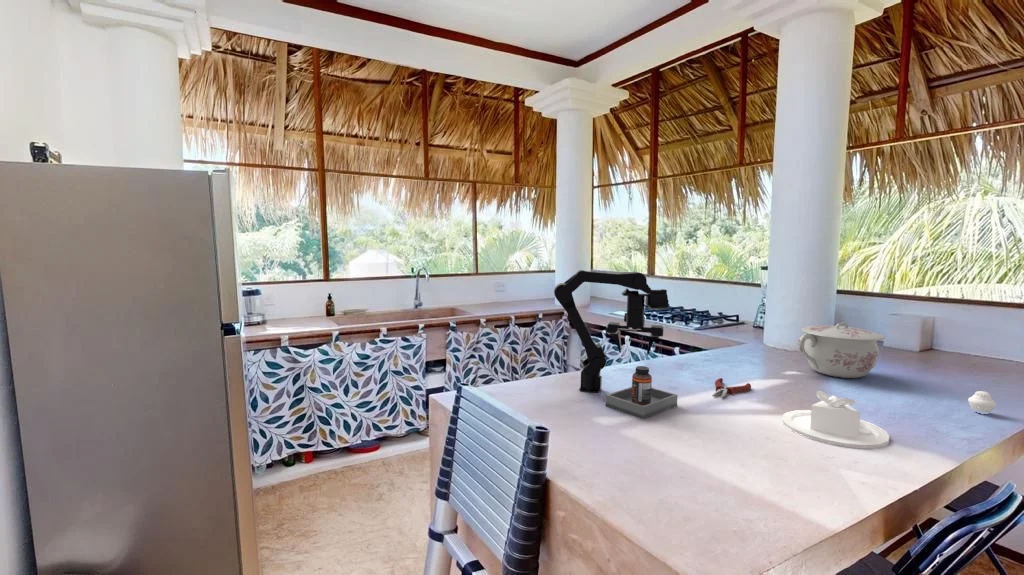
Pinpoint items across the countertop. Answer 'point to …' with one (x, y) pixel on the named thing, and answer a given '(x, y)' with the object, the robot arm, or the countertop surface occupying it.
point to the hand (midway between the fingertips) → (633, 353)
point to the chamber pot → (840, 349)
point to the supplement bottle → (641, 386)
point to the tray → (624, 403)
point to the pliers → (729, 388)
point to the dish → (835, 424)
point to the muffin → (982, 402)
